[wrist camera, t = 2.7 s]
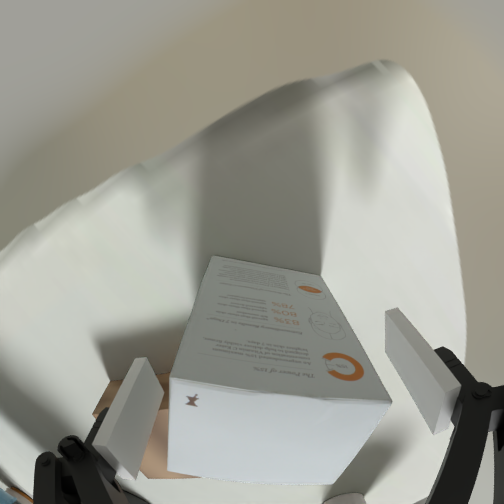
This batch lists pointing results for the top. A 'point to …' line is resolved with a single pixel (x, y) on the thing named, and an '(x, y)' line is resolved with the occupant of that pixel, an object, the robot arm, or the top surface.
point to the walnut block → (158, 440)
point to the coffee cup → (347, 499)
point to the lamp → (19, 495)
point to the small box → (269, 381)
